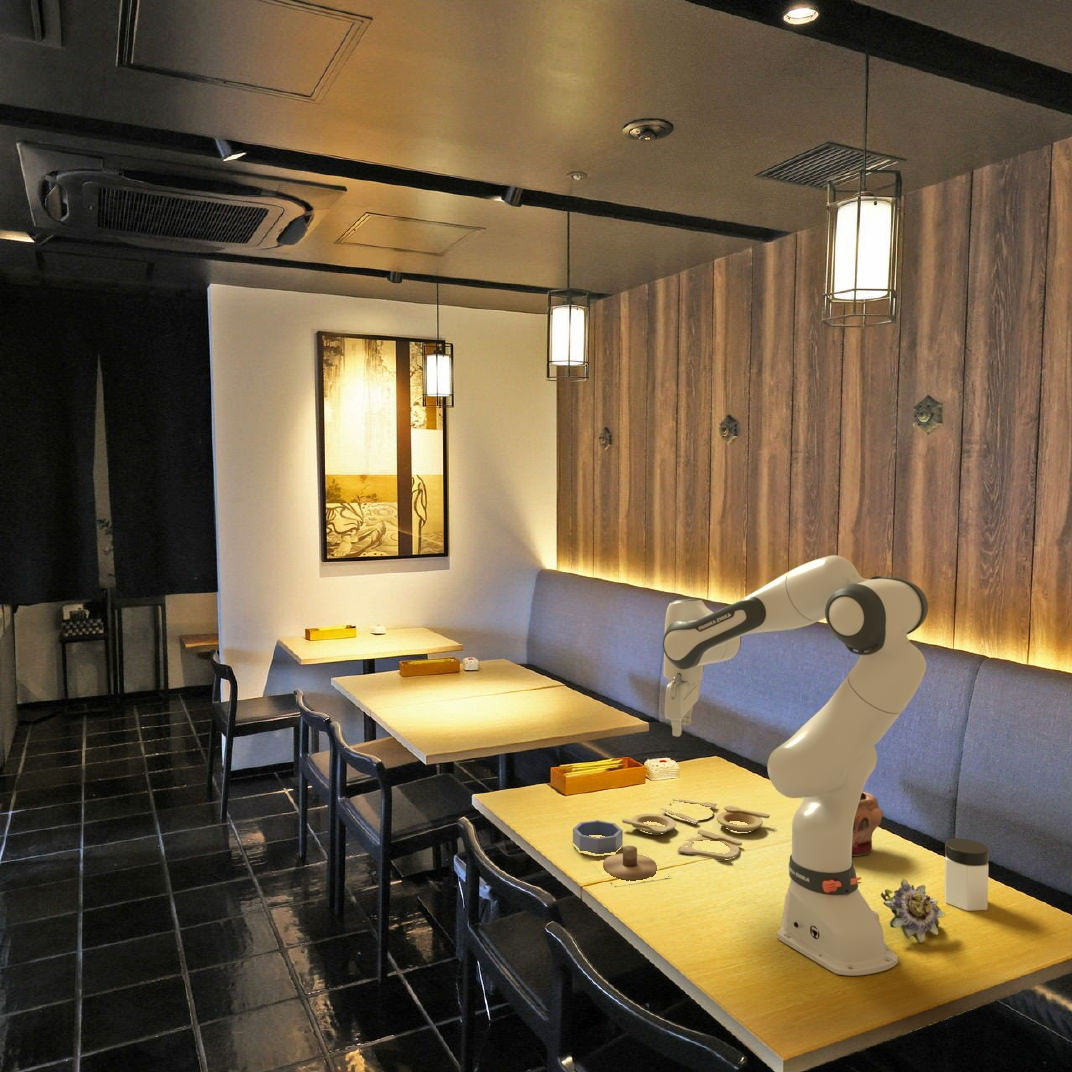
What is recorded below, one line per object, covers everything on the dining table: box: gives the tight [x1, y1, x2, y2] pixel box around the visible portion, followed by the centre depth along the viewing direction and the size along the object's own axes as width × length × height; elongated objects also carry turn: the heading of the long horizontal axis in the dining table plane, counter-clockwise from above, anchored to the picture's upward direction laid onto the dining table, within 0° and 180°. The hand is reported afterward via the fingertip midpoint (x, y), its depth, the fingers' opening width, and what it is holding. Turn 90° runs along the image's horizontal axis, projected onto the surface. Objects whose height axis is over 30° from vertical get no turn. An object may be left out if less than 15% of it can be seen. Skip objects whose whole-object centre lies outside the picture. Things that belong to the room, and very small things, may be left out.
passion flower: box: [880, 877, 946, 944], centre depth 167 cm, size 11×11×12 cm
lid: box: [603, 845, 658, 881], centre depth 192 cm, size 12×12×5 cm
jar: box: [944, 838, 990, 912], centre depth 179 cm, size 9×8×12 cm
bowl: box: [572, 819, 624, 854], centre depth 205 cm, size 11×11×5 cm
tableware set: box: [621, 798, 771, 861], centre depth 217 cm, size 35×29×4 cm
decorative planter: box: [852, 791, 884, 857], centre depth 205 cm, size 20×12×14 cm, turn 109°
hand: (681, 729), depth 193 cm, fingers open, 8 cm apart
